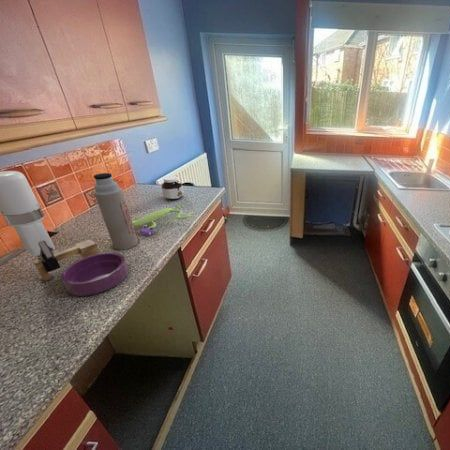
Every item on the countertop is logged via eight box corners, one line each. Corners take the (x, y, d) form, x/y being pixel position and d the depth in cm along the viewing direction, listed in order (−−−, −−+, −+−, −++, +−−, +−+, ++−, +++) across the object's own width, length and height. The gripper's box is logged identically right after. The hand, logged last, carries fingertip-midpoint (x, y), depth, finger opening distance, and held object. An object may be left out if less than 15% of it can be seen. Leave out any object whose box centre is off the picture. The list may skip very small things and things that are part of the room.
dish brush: (46, 283, 77) (36, 265, 73) (41, 277, 79) (31, 259, 76) (102, 260, 88) (96, 243, 85) (96, 255, 90) (89, 239, 87)
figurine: (199, 223, 115) (197, 212, 112) (132, 241, 99) (128, 229, 97) (185, 209, 127) (183, 199, 125) (124, 224, 112) (120, 212, 109)
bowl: (81, 305, 70) (74, 291, 67) (59, 283, 77) (52, 270, 75) (138, 275, 82) (134, 263, 79) (115, 259, 89) (110, 247, 86)
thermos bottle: (142, 239, 101) (121, 171, 88) (130, 250, 94) (106, 178, 81) (122, 238, 101) (98, 170, 88) (109, 249, 94) (81, 177, 81)
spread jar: (170, 202, 134) (166, 181, 129) (158, 197, 139) (153, 177, 134) (189, 196, 144) (186, 176, 138) (177, 191, 149) (173, 172, 143)
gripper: (-3, 212, 71) (27, 264, 79) (14, 229, 63) (45, 284, 72) (33, 204, 77) (57, 254, 85) (52, 218, 69) (77, 271, 78)
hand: (52, 267), depth 79 cm, fingers closed on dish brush
